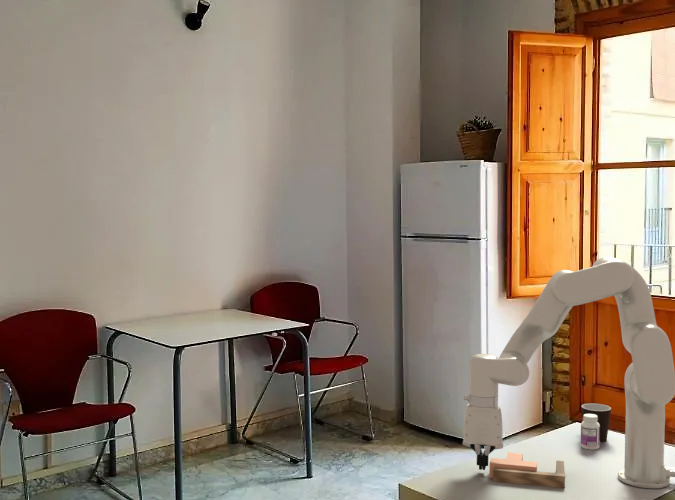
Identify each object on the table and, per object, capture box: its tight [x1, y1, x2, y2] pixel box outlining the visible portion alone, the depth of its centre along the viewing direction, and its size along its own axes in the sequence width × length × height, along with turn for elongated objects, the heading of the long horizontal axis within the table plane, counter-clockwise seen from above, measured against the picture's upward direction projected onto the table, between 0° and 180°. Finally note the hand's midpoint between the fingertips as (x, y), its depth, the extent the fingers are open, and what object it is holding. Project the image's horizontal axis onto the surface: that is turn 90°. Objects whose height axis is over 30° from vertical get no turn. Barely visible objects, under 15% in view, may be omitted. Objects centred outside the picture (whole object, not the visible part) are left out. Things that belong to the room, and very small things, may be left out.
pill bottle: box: [580, 414, 601, 451], centre depth 228 cm, size 5×5×10 cm
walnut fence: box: [492, 460, 566, 489], centre depth 203 cm, size 18×12×3 cm, turn 75°
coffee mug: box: [580, 403, 612, 443], centre depth 237 cm, size 12×9×10 cm
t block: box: [488, 452, 538, 479], centre depth 206 cm, size 12×10×4 cm
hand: (482, 468), depth 206 cm, fingers closed
